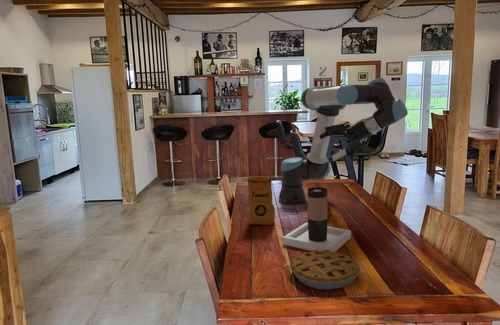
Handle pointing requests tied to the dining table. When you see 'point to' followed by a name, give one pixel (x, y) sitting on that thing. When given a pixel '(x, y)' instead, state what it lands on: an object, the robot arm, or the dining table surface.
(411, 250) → the dining table surface
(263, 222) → the coffee package
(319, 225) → the travel mug
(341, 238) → the tray
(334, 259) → the pie
